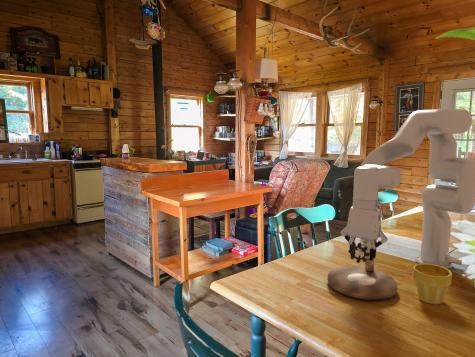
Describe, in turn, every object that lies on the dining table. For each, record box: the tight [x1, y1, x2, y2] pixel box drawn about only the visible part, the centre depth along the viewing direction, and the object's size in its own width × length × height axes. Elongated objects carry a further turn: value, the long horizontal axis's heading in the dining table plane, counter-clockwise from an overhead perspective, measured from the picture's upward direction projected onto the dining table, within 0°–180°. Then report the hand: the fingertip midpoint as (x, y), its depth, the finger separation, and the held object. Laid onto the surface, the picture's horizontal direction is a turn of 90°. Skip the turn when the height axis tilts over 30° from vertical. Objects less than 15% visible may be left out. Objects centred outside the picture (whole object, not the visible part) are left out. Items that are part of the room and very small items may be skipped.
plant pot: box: [412, 263, 453, 305], centre depth 104 cm, size 10×10×10 cm
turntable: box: [327, 256, 398, 301], centre depth 112 cm, size 22×22×7 cm
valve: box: [348, 238, 371, 264], centre depth 113 cm, size 7×7×12 cm
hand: (362, 256), depth 112 cm, fingers closed on valve, 5 cm apart
